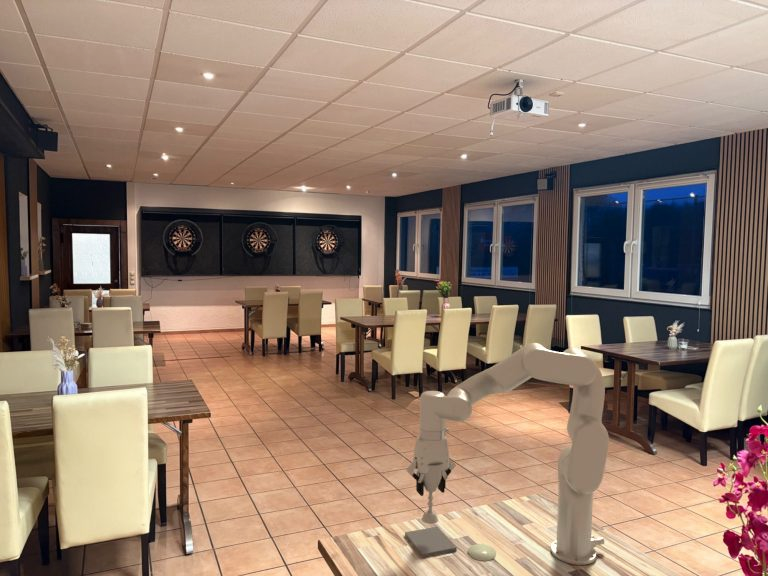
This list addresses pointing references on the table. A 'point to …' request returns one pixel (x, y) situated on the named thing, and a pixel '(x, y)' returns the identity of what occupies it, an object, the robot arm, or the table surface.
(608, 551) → the table surface
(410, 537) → the slate board
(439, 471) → the chalice
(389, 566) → the table surface
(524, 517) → the table surface
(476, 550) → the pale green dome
